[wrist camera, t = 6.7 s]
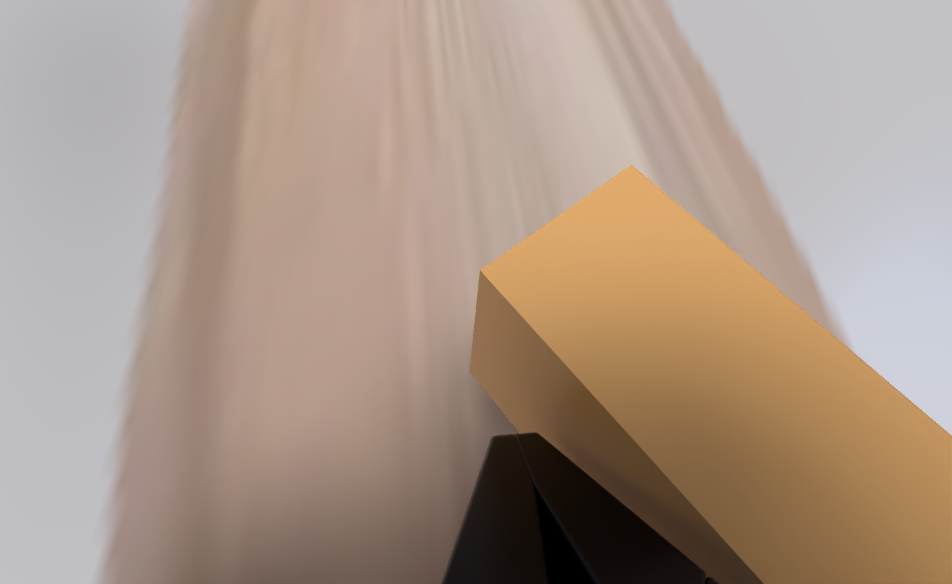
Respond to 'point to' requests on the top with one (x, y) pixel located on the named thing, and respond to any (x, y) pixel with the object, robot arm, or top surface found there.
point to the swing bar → (710, 399)
